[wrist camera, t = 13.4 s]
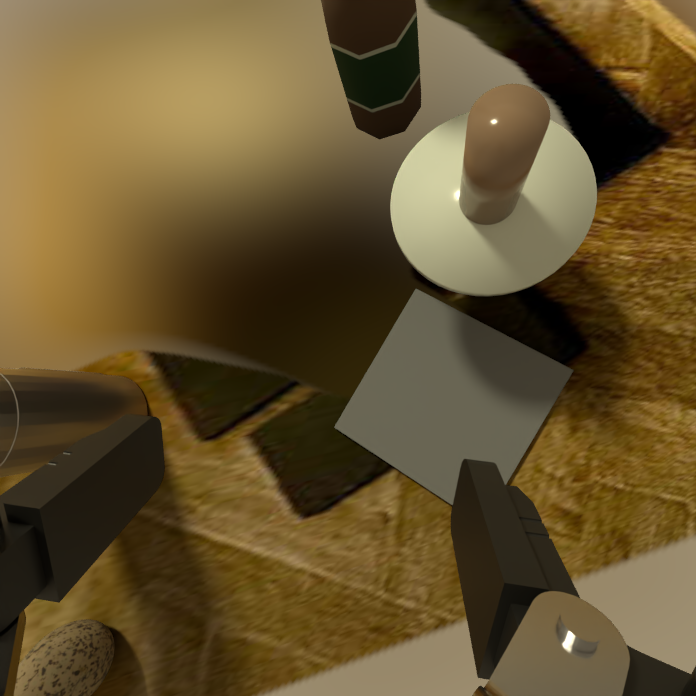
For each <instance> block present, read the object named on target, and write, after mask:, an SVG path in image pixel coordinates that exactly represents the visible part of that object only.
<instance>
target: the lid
mask: <svg viewBox="0 0 696 696" xmlns="http://www.w3.org/2000/svg"><path fill="white" fill-rule="evenodd" d="M596 202H597V187H596V179H595V174H594V171H593V168H592V164H591V162H590V160H589V158H588V156H587V154H586V152H585V151H584V149H583V148H582V146H581V145H580V143H579V142H578V141H577V140H576V139H575V138H574V137H573V136H572V135H571V134H570V133H569V132H568V131H567V130H566V129H564V128H563V127H562V126H560V125H559V124H557V123H556V122H554V121H552V120H551V119H550V110H549V106H548V104H547V102H546V100H545V98H544V97H543V96H542V95H541V94H540V93H539V92H538V91H536V90H535V89H533V88H531V87H528V86H525V85H520V84H506V85H502V86H498V87H495V88H493V89H491V90H489V91H487V92H486V93H485V94H483V95H482V96H481V97H480V98H479V99H478V100H477V101H476V102H475V103H474V105H473V106H472V108H471V111H470V112H468V113H465V114H462V115H459V116H457V117H455V118H452V119H450V120H448V121H446V122H445V123H443V124H441V125H439V126H437V127H436V128H435V129H433V130H432V131H431V132H429V133H428V134H427V135H426V136H425V137H423V138H422V139H421V140H420V141H419V142H418V143H417V144H416V146H415V147H414V148H413V149H412V150H411V151H410V153H409V154H408V155H407V157H406V159H405V160H404V161H403V163H402V165H401V167H400V169H399V171H398V174H397V176H396V179H395V182H394V185H393V190H392V194H391V206H390V208H391V220H392V224H393V230H394V234H395V236H396V238H397V242H398V245H399V246H400V248H401V250H402V252H403V254H404V255H405V257H406V258H407V260H408V261H409V262H410V264H411V265H412V266H413V267H414V268H415V269H416V270H417V271H418V272H419V273H420V274H422V275H423V276H424V277H425V278H427V279H428V280H430V281H431V282H433V283H435V284H436V285H438V286H440V287H443V288H445V289H447V290H450V291H453V292H457V293H460V294H465V295H472V296H498V295H505V294H509V293H514V292H517V291H520V290H523V289H526V288H529V287H531V286H533V285H535V284H537V283H539V282H541V281H543V280H544V279H546V278H547V277H549V276H550V275H552V274H553V273H554V272H556V271H557V270H558V269H559V268H560V267H561V266H563V265H564V264H565V263H566V261H567V260H568V259H569V258H570V257H571V256H572V255H573V254H574V253H575V252H576V250H577V249H578V247H579V246H580V245H581V243H582V242H583V240H584V238H585V237H586V235H587V233H588V231H589V229H590V226H591V223H592V220H593V217H594V213H595V208H596Z"/></svg>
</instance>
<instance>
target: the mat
mask: <svg viewBox="0 0 696 696" xmlns="http://www.w3.org/2000/svg"><path fill="white" fill-rule="evenodd" d="M573 371H574V370H572V369H570V368H568V367H566V366H564V365H563V364H561V363H559V362H557V361H555V360H553V359H551V358H549V357H547V356H545V355H543V354H541V353H539V352H537V351H535V350H534V349H532V348H530V347H528V346H526V345H524V344H522V343H520V342H518V341H516V340H514V339H512V338H510V337H508V336H507V335H505V334H503V333H501V332H499V331H497V330H495V329H493V328H491V327H489V326H487V325H485V324H483V323H481V322H479V321H478V320H476V319H474V318H472V317H470V316H468V315H466V314H464V313H462V312H460V311H458V310H456V309H454V308H452V307H450V306H449V305H447V304H445V303H443V302H441V301H439V300H437V299H435V298H433V297H431V296H429V295H427V294H425V293H423V292H422V291H419V290H418V289H415V291H414V293H413V294H412V296H411V298H410V299H409V301H408V303H407V305H406V306H405V308H404V310H403V311H402V313H401V315H400V316H399V318H398V320H397V322H396V323H395V325H394V327H393V328H392V330H391V332H390V333H389V335H388V337H387V338H386V340H385V342H384V344H383V345H382V347H381V349H380V350H379V352H378V354H377V356H376V357H375V359H374V361H373V362H372V364H371V366H370V367H369V369H368V371H367V373H366V374H365V376H364V378H363V379H362V381H361V383H360V384H359V386H358V388H357V389H356V391H355V393H354V394H353V396H352V398H351V400H350V401H349V403H348V405H347V406H346V408H345V410H344V411H343V413H342V415H341V417H340V418H339V420H338V422H337V423H336V425H335V427H334V428H336V429H337V430H339V431H340V432H342V433H343V434H345V435H346V436H348V437H349V438H351V439H353V440H354V441H356V442H357V443H359V444H360V445H362V446H363V447H365V448H366V449H368V450H369V451H371V452H372V453H374V454H375V455H377V456H378V457H380V458H381V459H383V460H384V461H386V462H387V463H389V464H390V465H392V466H393V467H395V468H396V469H398V470H400V471H401V472H403V473H404V474H406V475H407V476H409V477H410V478H412V479H413V480H415V481H416V482H418V483H419V484H421V485H422V486H424V487H425V488H427V489H428V490H430V491H431V492H433V493H434V494H436V495H437V496H439V497H440V498H442V499H444V500H445V501H447V502H448V503H450V504H451V505H453V501H454V497H455V492H456V487H457V482H458V477H459V472H460V467H461V464H462V461H463V459H471V460H478V461H486V462H494V463H495V464H496V465H497V467H498V469H499V472H500V474H501V476H502V479H503V481H504V484H505V485H506V484H507V482H508V480H509V479H510V477H511V475H512V474H513V472H514V470H515V468H516V467H517V465H518V463H519V462H520V460H521V458H522V457H523V455H524V453H525V452H526V450H527V448H528V447H529V445H530V443H531V442H532V440H533V438H534V436H535V435H536V433H537V431H538V430H539V428H540V426H541V425H542V423H543V421H544V420H545V418H546V416H547V415H548V413H549V411H550V409H551V408H552V406H553V404H554V403H555V401H556V399H557V398H558V396H559V394H560V393H561V391H562V389H563V388H564V386H565V384H566V383H567V381H568V379H569V377H570V376H571V374H572V372H573Z"/></svg>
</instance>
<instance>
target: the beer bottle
mask: <svg viewBox="0 0 696 696" xmlns="http://www.w3.org/2000/svg"><path fill="white" fill-rule="evenodd" d="M321 2H322V7H323V12H324V16H325V22H326V27H327V31H328V35H329V40H330V44H331V48H332V51H333V54H334V57H335V61H336V64H337V67H338V71H339V74H340V77H341V81H342V84H343V87H344V91H345V94H346V97H347V101H348V104H349V107H350V110H351V114H352V117H353V120H354V122H355V125H356V127H357V128H358V129H360V130H362V131H364V132H366V133H368V134H370V135H372V136H374V137H376V138H378V139H382V138H385V137H388V136H392V135H395V134H398V133H401V132H404V131H405V130H406V129H407V127H408V126H409V124H410V122H411V121H412V120H413V118H414V116H415V115H416V114H417V112H418V110H419V109H420V107H421V85H420V65H419V47H418V29H417V11H416V3H415V0H321Z"/></svg>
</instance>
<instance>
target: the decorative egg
mask: <svg viewBox="0 0 696 696" xmlns="http://www.w3.org/2000/svg"><path fill="white" fill-rule="evenodd" d="M114 648H115V646H114V638H113V635H112V633H111V631H110V630H109V628H108V627H107V626H105V625H104V624H103V623H101V622H99V621H95V620H78V621H74V622H71V623H68V624H65V625H63V626H61V627H59V628H57V629H55V630H54V631H52V632H51V633H49V634H48V635H46V636H45V637H44V638H43V639H42V640H40V641H39V642H38V643H37V644H36V645H35V646H34V647H33V648H32V649H31V650H30V651H29V653H28V654H27V655H26V656H25V658H24V659H23V660H22V661H21V663H20V664H19V666H18V672H17V678H16V684H15V690H14V696H91V695H92V694H93V693H94V692H95V691H96V689H97V688H98V687H99V686H100V684H101V683H102V682H103V680H104V678H105V677H106V675H107V673H108V671H109V669H110V667H111V664H112V661H113V657H114Z"/></svg>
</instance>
